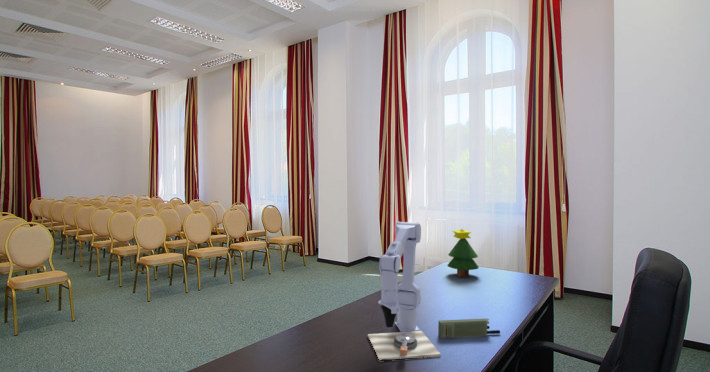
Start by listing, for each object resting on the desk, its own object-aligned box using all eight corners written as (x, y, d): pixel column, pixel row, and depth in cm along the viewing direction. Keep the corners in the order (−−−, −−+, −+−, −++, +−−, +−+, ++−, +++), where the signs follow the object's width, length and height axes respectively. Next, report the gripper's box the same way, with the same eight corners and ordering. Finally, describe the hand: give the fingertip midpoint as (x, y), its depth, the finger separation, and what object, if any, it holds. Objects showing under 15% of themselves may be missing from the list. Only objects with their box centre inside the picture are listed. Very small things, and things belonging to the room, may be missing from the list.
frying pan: (393, 354, 127) (393, 349, 127) (396, 335, 143) (396, 330, 143) (414, 356, 126) (414, 351, 126) (415, 336, 142) (415, 331, 142)
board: (367, 336, 148) (367, 330, 148) (421, 333, 152) (421, 327, 152) (379, 361, 128) (379, 354, 128) (440, 356, 132) (440, 349, 132)
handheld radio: (437, 335, 150) (497, 333, 153) (440, 339, 147) (501, 336, 149) (437, 319, 149) (498, 316, 152) (440, 322, 146) (502, 320, 149)
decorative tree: (484, 279, 231) (484, 230, 230) (454, 280, 229) (454, 231, 228) (470, 271, 250) (470, 226, 249) (442, 272, 248) (443, 226, 247)
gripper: (374, 283, 141) (374, 319, 141) (383, 295, 127) (383, 335, 127) (392, 282, 142) (392, 318, 143) (403, 294, 128) (403, 334, 128)
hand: (389, 326), depth 135 cm, fingers closed
